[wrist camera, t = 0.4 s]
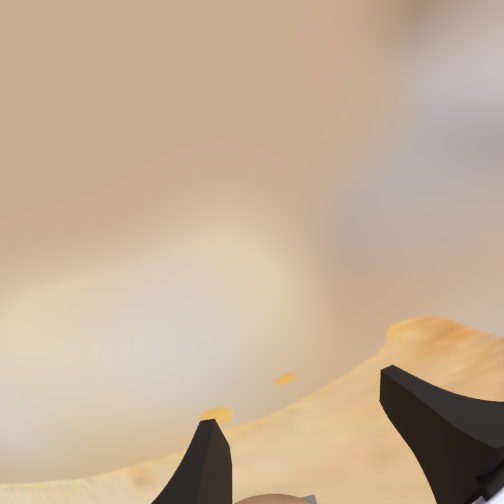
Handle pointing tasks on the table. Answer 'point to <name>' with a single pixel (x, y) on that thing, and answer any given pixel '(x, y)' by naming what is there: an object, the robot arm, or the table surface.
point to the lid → (273, 499)
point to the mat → (310, 499)
